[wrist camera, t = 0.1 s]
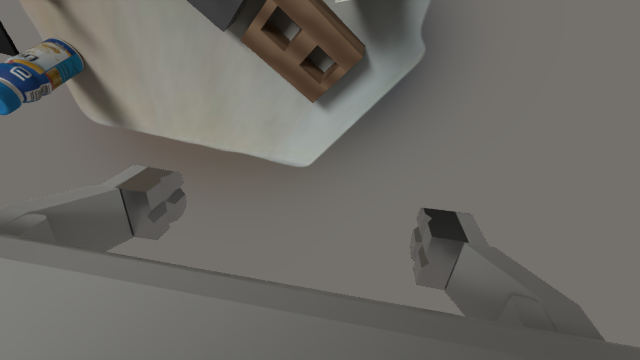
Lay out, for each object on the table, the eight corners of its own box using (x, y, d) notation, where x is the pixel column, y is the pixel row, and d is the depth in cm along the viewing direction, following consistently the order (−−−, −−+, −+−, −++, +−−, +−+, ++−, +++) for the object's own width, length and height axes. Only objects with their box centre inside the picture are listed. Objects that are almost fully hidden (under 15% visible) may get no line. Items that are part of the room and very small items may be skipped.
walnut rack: (291, -33, 49) (284, -26, 46) (364, 45, 57) (362, 57, 53) (249, 29, 58) (240, 40, 55) (317, 90, 65) (313, 103, 62)
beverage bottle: (69, 75, 74) (-3, 122, 60) (38, 40, 68) (-49, 84, 55) (93, 68, 71) (23, 116, 58) (63, 32, 65) (-23, 76, 52)
